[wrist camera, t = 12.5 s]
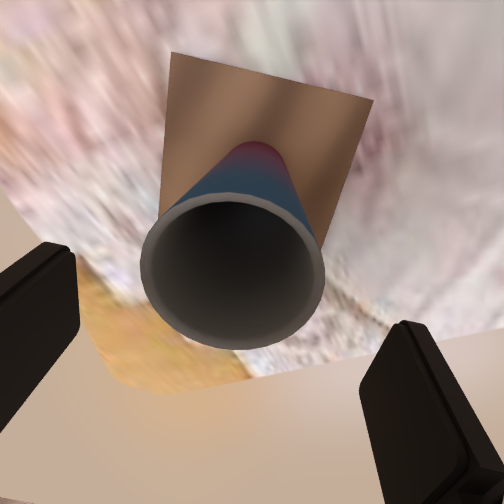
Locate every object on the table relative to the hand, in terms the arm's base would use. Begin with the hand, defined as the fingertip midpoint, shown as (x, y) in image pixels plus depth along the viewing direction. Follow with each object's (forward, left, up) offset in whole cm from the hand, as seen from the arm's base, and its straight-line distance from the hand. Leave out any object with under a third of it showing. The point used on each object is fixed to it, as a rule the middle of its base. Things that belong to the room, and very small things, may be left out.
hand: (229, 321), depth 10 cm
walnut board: (0, 0, -19) cm, 19 cm away
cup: (0, 0, -18) cm, 18 cm away
